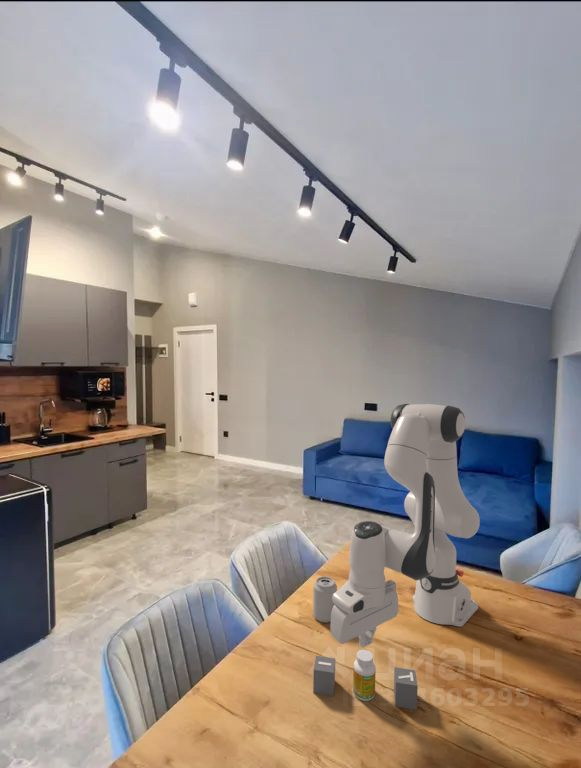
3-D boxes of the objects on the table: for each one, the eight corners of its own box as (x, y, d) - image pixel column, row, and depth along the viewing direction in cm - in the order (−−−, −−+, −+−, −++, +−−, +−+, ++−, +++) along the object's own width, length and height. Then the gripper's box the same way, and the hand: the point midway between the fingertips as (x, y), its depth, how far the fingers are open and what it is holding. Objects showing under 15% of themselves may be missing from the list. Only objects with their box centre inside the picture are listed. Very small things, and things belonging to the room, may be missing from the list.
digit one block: (315, 677, 107) (316, 655, 106) (334, 680, 106) (335, 657, 105) (313, 692, 102) (313, 669, 101) (333, 696, 101) (333, 672, 100)
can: (336, 610, 135) (336, 575, 135) (336, 625, 128) (337, 588, 127) (313, 609, 136) (314, 574, 135) (312, 623, 129) (313, 586, 128)
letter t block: (393, 690, 103) (394, 666, 103) (414, 693, 102) (415, 669, 102) (395, 706, 98) (395, 681, 98) (416, 709, 97) (417, 685, 97)
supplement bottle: (361, 705, 98) (362, 666, 98) (348, 688, 103) (349, 651, 102) (379, 696, 101) (380, 658, 100) (365, 681, 105) (366, 645, 105)
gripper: (386, 572, 109) (385, 622, 110) (326, 597, 97) (326, 652, 98) (405, 583, 104) (403, 635, 104) (344, 610, 92) (343, 669, 93)
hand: (365, 644), depth 101 cm, fingers closed
